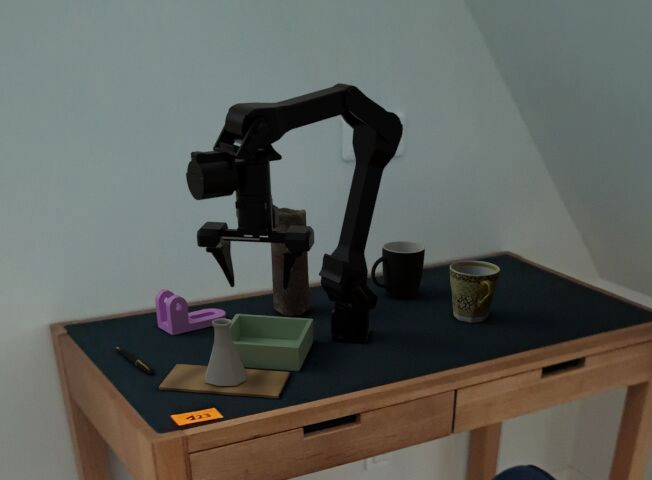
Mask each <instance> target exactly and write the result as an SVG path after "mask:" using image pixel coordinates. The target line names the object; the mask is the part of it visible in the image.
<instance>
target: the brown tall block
mask: <svg viewBox="0 0 652 480" xmlns="http://www.w3.org/2000/svg"><path fill="white" fill-rule="evenodd" d="M278 208H279V213H278V227H276V228H273V231H287V230H288V228H289V227H290V225H295V226H308V224H307V211H306V210H305V209H294V208H293V209H292V208H289V207H278ZM286 249H287V248H286V246H285V243H270V256H271V258H270V259H271V279H272V281H271V282H272V299H273V300H272V301H273V307H274V310H275V311H277V312H278V313H280V314H281V315H282V316H283V317H295V316H301V315H303V314H304V313H305V312H307V311H309V310H310V308H311V301H310V299H311V298H310V279H309V278H310V277H309V275H310V274H309V253H308V252H309V251H308V252H304V253H303V255H302V256H300V257H297V258H296V261H295V263H294V266H293V269H292V273H291V277H290V280H289V284H288V287H287V290H284V286H283V265H284V252H285V251H286Z"/></svg>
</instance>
